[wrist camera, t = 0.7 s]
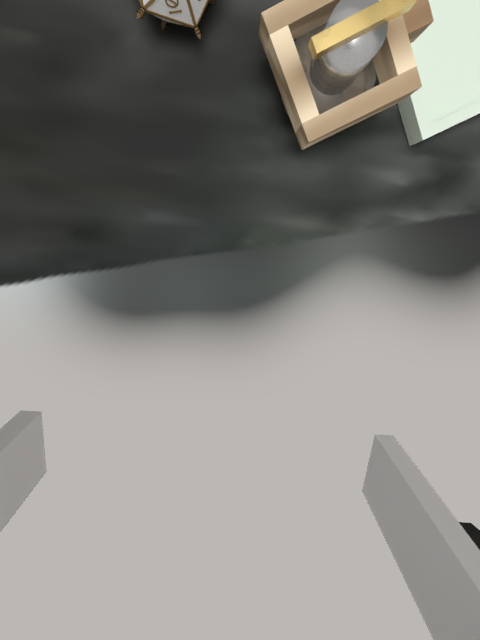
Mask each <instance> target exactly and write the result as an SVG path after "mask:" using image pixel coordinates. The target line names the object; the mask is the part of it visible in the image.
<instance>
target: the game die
mask: <svg viewBox="0 0 480 640" xmlns="http://www.w3.org/2000/svg"><path fill="white" fill-rule="evenodd" d="M139 2H140V5H141V8H140V9H138V11H136V12H137V19H140V18H143V16H144V12H147V13H149V14H151V15H152V16H154V17H156V18H158V19H160V20H162V21H161V25H160V27H161V28H162V31H163V30H164V29H165V28H166V26H167V24H166V22H168V23H173V24H177V25H182V26H186V27H191V28H194V30H195V32H194V33H195V34H196V36H197V37H198V38H199V39H200V40H201V34H202V33H201V32H200V29H199V28H198V24H199V22H200V20H201V18H202V15H203V13H204V11H205V9H206V6H207V4H208V3H209V4H210V5H211V4H213V3H214V1H213V0H139Z"/></svg>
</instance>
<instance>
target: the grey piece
mask: <svg viewBox="0 0 480 640" xmlns="http://www.w3.org/2000/svg"><path fill="white" fill-rule="evenodd" d="M415 3H416V0H381V1H379V0H341V1H340V2H339V3H338V4H337V5H336V7H335V8H334V10H333V12H332V14H331V16H330V18H329V20H328V22H326V23H324V24H323V25H321V26H319V27H317V28H315V29H313V30H311V31H309V32H307V33H306V34H304V35H302V36H300V37H298V38H297V39H296V41H295V46H296V49H297V52H298V55H299V58H300V61H301V63H302V66H303V69H304V72H305V75H306V78H307V81H308V83H309V86H310V89H311V92H312V95H313V98H314V101H315V103H316V106H317V109H318V112H319V115H320V114H322V113H324V112H326V111H328V110H330V109H332V108H334V107H336V106H338V105H340V104H342V103H344V102H346V101H348V100H350V99H352V98H354V97H356V96H358V95H360V94H362V93H364V92H366V91H368V90H370V89H372V88H373V86H374V83H375V81H376V76H377V73H376V70H375V66H374V63H373V60H372V58H373V57H374V56H375V55H376V53H377V52H378V51H379V50H380V48H381V46H382V45H383V43H384V41H385V38H386V34H387V28H388V22H389V21H391V20H393V19H395V18H397V17H399V16H400V15H402V14H404V13H406V12H408V11H409V10H410V9H411V8H412V6H413V5H414V4H415ZM281 97H282V96H281ZM282 103H283V106H284V109H285V111H286V113H287V115H288V112H287V110H286V107H285V104H284V101H283V99H282ZM288 116H289V115H288Z"/></svg>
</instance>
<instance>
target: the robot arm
mask: <svg viewBox="0 0 480 640" xmlns="http://www.w3.org/2000/svg"><path fill="white" fill-rule="evenodd" d="M45 473H46V462H45V450H44V438H43V425H42V413H41V412H34V411H20V412H19V413H18V414H17V415H16V416H14V417H13V418H12V419H11V420H10V421H9V422H8V423H6V424H5V425H4V426H3V427H2V428H1V429H0V532H1V531H2V529H3V528H4V527H5V526H6V524H7V523H8V522H9V520H10V519H11V518H12V516H13V515H14V514H15V512H16V511H17V510H18V508H19V507H20V506H21V504H22V503H23V502H24V501H25V499H26V498H27V497H28V495H29V494H30V493H31V491H32V490H33V488H34V487H35V486H36V485H37V483H38V482H39V481H40V479H41V478H42V477H43V475H44V474H45ZM362 492H363V493H364V495H365V498H366V500H367V502H368V504H369V506H370V508H371V510H372V512H373V515H374V516H375V519H376V521H377V523H378V525H379V527H380V529H381V531H382V533H383V535H384V538H385V540H386V542H387V544H388V546H389V548H390V550H391V552H392V554H393V556H394V558H395V560H396V563H397V565H398V567H399V569H400V571H401V573H402V575H403V577H404V579H405V581H406V583H407V586H408V588H409V590H410V592H411V594H412V596H413V598H414V600H415V602H416V604H417V606H418V608H419V611H420V613H421V615H422V617H423V619H424V621H425V623H426V625H427V627H428V629H429V631H430V634H431V636H432V638H433V640H480V530H478V529H477V528H476V527H475V526H474V525H472V524H471V523H462V522H458V521H457V519H456V518H455V517H454V516H453V514H452V513H451V511H450V510H449V509H448V508H447V506H446V505H445V504H444V502H443V501H442V499H441V498H440V497H439V495H438V494H437V493H436V492H435V490H434V489H433V487H432V486H431V485H430V484H429V482H428V481H427V479H426V478H425V477H424V476H423V474H422V473H421V472H420V470H419V469H418V468H417V466H416V465H415V464H414V462H413V461H412V460H411V458H410V457H409V456H408V454H407V453H406V452H405V450H404V449H403V448H402V446H401V445H400V444H399V442H398V441H397V440H396V438H395V437H394V436H389V435H375V437H374V441H373V446H372V450H371V454H370V459H369V463H368V468H367V473H366V477H365V481H364V486H363V490H362Z"/></svg>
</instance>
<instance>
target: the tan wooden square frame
mask: <svg viewBox="0 0 480 640" xmlns="http://www.w3.org/2000/svg"><path fill="white" fill-rule="evenodd" d="M340 1H341V0H284V1H282V2H280V3H278V4H277V5H275V6H273V7H271V8H269V9H267V10H266V11H264V12H262V13H261V20H260V29H259V37H260V40H261V42H262V45H263V48H264V50H265V53H266V56H267V59H268V61H269V64H270V67H271V69H272V72H273V75H274V77H275V80H276V83H277V85H278V88H279V91H280V93H281V96H282V99H283V101H284V104H285V107H286V110H287V112H288V115H289V118H290V120H291V123H292V126H293V128H294V131H295V134H296V136H297V139H298V142H299V144H300V147H301V150H304V149H306V148H308V147H310V146H312V145H314V144H316V143H318V142H320V141H322V140H324V139H326V138H328V137H330V136H332V135H334V134H336V133H338V132H340V131H342V130H344V129H346V128H348V127H350V126H352V125H354V124H356V123H358V122H360V121H362V120H364V119H367V118H369V117H371V116H373V115H375V114H377V113H379V112H381V111H383V110H385V109H387V108H389V107H391V106H393V105H395V104H397V103H399V102H401V101H403V100H405V99H406V98H407V97H409V96H410V95H411V94H413V93H414V92H415V91H417V90H418V89H419V88H421V87H422V84H421V80H420V77H419V73H418V69H417V66H416V62H415V58H414V54H413V51H412V47H411V43H412V42H414V41H415V40H416V39H417V38H418V37H419V36H420V35H421V34H422V33H423V32H424V31H425V29H426V28H427V27H428V26H429V25H430V24H431V23H432V22H433V21H434V20H433V16H432V12H431V8H430V4H429V0H416V3H415V4H414V5H413V6H412V8H411V9H410V10H409V11H408V12H406V13H404V14H402V15H400V16H399V17H397V18H395V19H393V20H391V21H389V22H388V28H387V34H386V38H385V41H384V43H383V45H382V46H381V48H380V50H379V51H378V52H377V53H376V55H375V56H374V57H373V58H372V60H373V63H374V66H375V70H376V73H377V76H378V80H379V83H380V85H378V86H376V87H374V88H372V89H370V90H368V91H366V92H364V93H362V94H360V95H358V96H356V97H354V98H352V99H350V100H348V101H346V102H344V103H342V104H340V105H338V106H336V107H334V108H332V109H330V110H328V111H326V112H324V113H322V114H320V115H319V112H318V109H317V106H316V103H315V101H314V98H313V95H312V92H311V89H310V86H309V83H308V81H307V78H306V75H305V72H304V69H303V66H302V63H301V61H300V58H299V55H298V52H297V49H296V46H295V43H294V41H293V40H294V39H296V38H298V37H300V36H302V35H304V34H306V33H307V32H309V31H311V30H313V29H315V28H317V27H319V26H321V25H323V24H324V23H326V22H328V20H329V18H330V16H331V14H332V12H333V10H334V8H335V7H336V5H337V4H338V3H339V2H340ZM379 1H381V0H379Z"/></svg>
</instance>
